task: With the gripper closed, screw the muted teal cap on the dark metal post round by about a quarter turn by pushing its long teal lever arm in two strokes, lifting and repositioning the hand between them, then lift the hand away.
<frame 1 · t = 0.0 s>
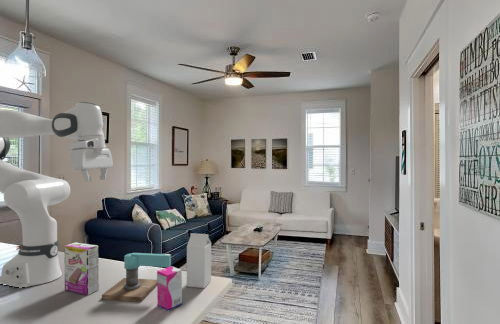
hand: (95, 180, 113), 39 cm above the kitchen counter, tool pointing down, fingers open, 8 cm apart
cap: (147, 260, 105), point 11 cm above the kitchen counter, hinge at 0.0°
threaded post: (132, 291, 106), on the kitchen counter
milk carton: (199, 284, 113), on the kitchen counter
supplement box: (169, 305, 96), on the kitchen counter
candy bar box: (81, 291, 106), on the kitchen counter
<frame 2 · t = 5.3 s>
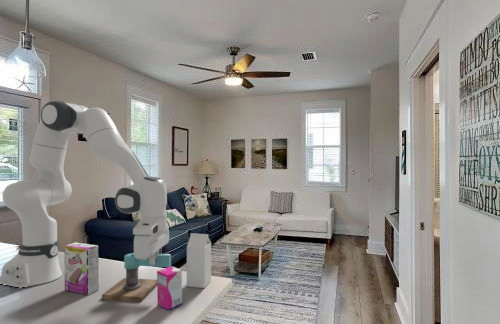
hand: (153, 263, 103), 11 cm above the kitchen counter, tool pointing down, fingers closed
cap: (147, 260, 105), point 11 cm above the kitchen counter, hinge at 0.5°, touching gripper
everything else where it was.
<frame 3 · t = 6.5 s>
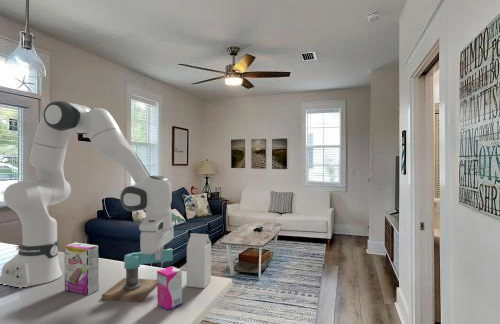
hand: (158, 259, 107), 11 cm above the kitchen counter, tool pointing down, fingers closed
cap: (149, 257, 108), point 11 cm above the kitchen counter, hinge at 28.5°, touching gripper
everything else where it was.
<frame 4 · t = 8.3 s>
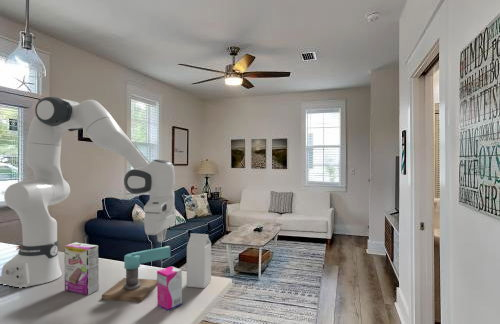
hand: (161, 240, 110), 17 cm above the kitchen counter, tool pointing down, fingers closed
cap: (148, 256, 109), point 11 cm above the kitchen counter, hinge at 44.2°
everything else where it was.
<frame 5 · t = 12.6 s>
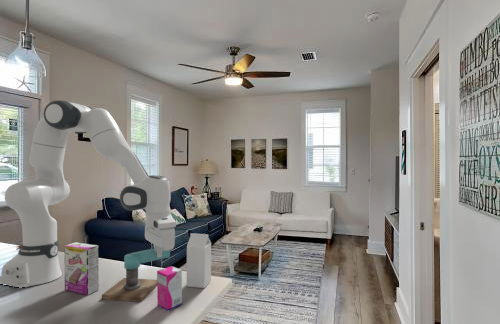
hand: (158, 256, 110), 11 cm above the kitchen counter, tool pointing down, fingers closed
cap: (147, 256, 110), point 11 cm above the kitchen counter, hinge at 46.4°, touching gripper
everything else where it was.
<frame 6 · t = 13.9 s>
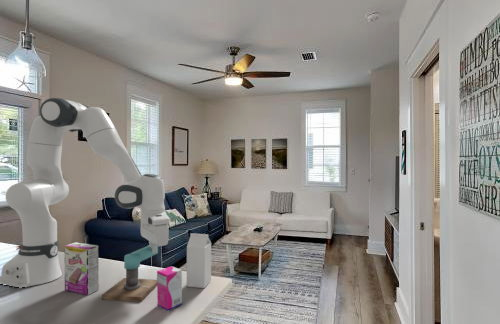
hand: (153, 252, 114), 11 cm above the kitchen counter, tool pointing down, fingers closed
cap: (142, 254, 111), point 11 cm above the kitchen counter, hinge at 77.4°, touching gripper
everything else where it was.
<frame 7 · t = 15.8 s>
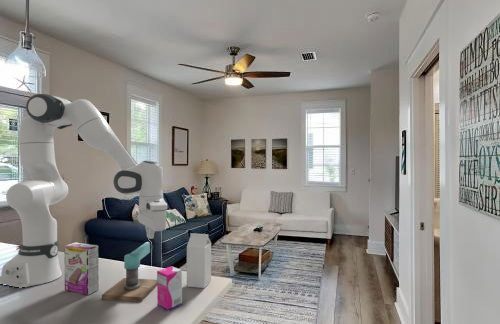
hand: (150, 237, 116), 16 cm above the kitchen counter, tool pointing down, fingers closed
cap: (139, 254, 112), point 11 cm above the kitchen counter, hinge at 92.8°
everything else where it was.
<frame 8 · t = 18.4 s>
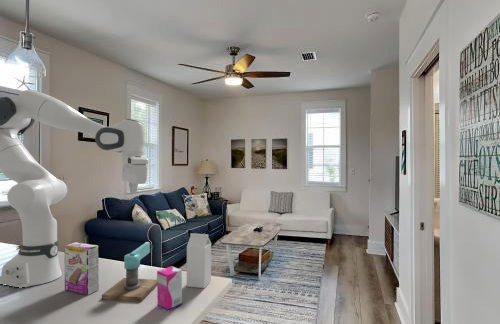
hand: (133, 193, 120), 33 cm above the kitchen counter, tool pointing down, fingers closed
nothing on the kitchen counter moved.
at the end: cap at +93° (first picture: +0°); the gripper is holding nothing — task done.
